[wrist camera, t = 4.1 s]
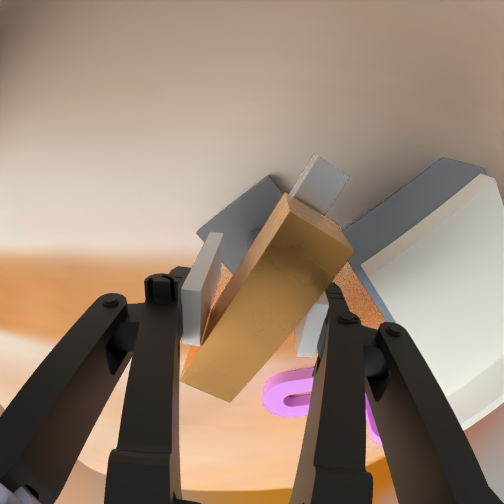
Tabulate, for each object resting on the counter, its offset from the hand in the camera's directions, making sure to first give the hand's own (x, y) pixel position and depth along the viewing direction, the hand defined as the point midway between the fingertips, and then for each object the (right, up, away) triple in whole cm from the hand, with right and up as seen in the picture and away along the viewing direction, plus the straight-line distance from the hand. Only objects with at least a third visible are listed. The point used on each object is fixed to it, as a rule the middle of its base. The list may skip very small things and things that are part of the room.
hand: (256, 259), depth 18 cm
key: (+1, +2, +2) cm, 3 cm away
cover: (+14, -4, -1) cm, 14 cm away
